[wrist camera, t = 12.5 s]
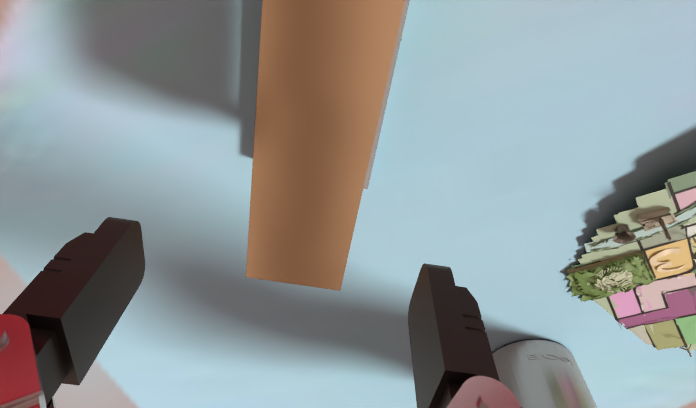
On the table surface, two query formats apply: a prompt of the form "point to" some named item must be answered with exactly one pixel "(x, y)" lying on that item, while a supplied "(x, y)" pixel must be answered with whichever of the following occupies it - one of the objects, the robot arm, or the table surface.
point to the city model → (647, 266)
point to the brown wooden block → (315, 132)
